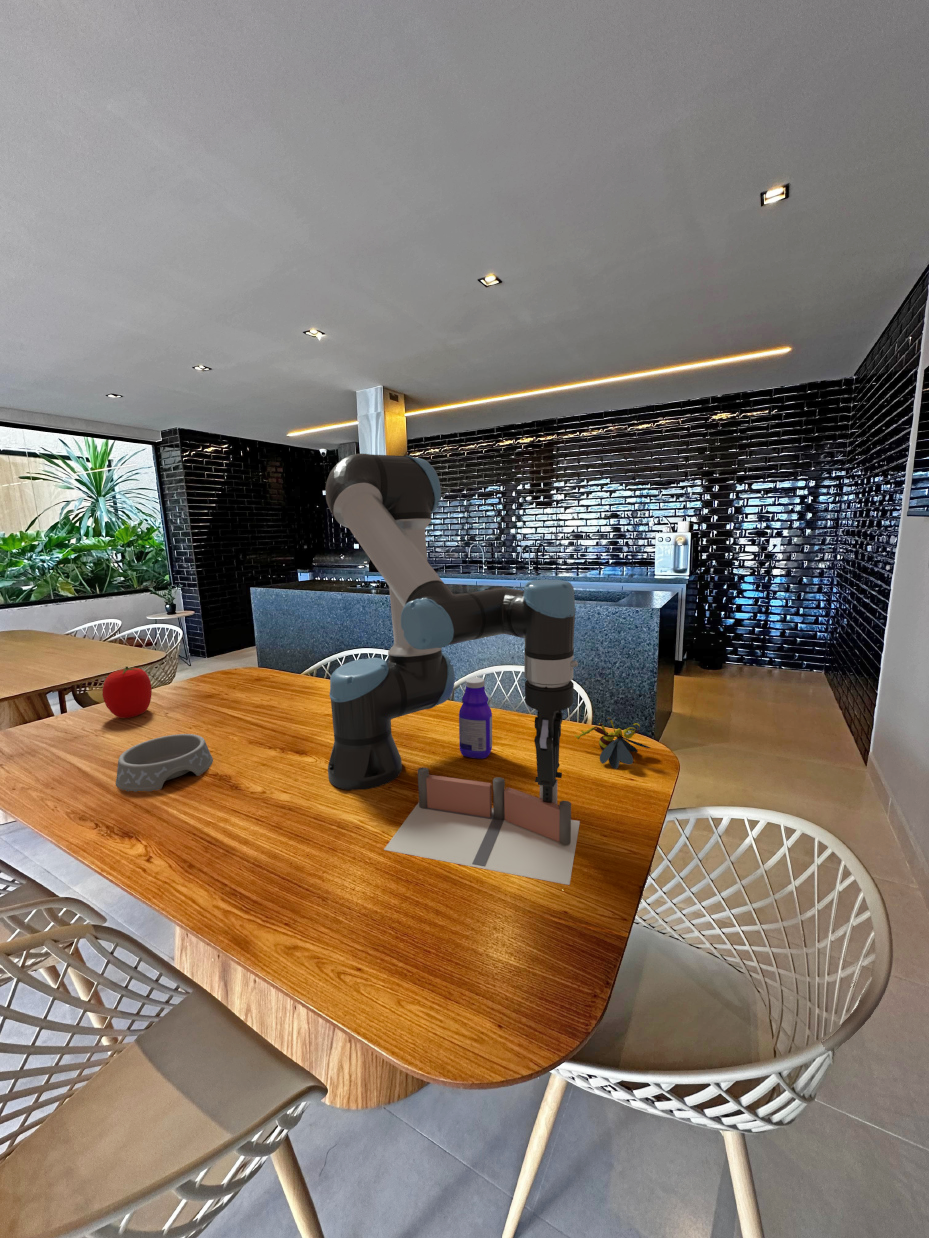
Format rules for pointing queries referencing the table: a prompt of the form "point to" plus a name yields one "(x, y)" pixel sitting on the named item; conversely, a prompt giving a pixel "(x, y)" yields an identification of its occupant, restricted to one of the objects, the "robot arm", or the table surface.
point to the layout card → (485, 844)
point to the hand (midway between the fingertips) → (548, 815)
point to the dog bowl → (162, 761)
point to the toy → (615, 745)
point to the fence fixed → (461, 795)
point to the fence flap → (539, 815)
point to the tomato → (127, 692)
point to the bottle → (475, 721)
